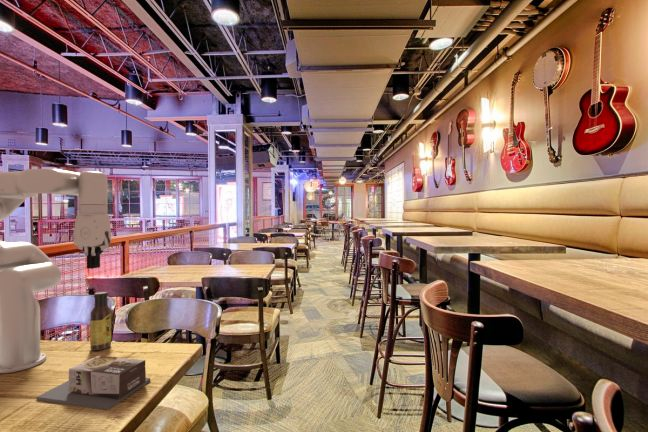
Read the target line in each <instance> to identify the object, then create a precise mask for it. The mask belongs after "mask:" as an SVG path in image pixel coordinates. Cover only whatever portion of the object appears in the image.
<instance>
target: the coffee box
mask: <svg viewBox="0 0 648 432" xmlns="http://www.w3.org/2000/svg"><path fill="white" fill-rule="evenodd" d="M146 375H147V374H146V360H145V359H138V358H127V357H118V356H117V357H116V356H103V355H97V356H95V357H92V358H90V359H88V360H86V361H84V362H82V363H79V364H77V365H75V366H72V367H71V368H69V369H68V381H69V382H68V391H69V392H74V393H81V394H88V395H95V396H102V397H109V398H116V399H121V398H122V397H124V396H125V395H127V394H128V393H130V392H131V391H133V390H134V389H136V388H137V387H139V386H140V385H142V384H143V383H145V382H146V378H147V377H146Z"/></svg>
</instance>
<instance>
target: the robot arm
mask: <svg viewBox="0 0 648 432" xmlns="http://www.w3.org/2000/svg"><path fill="white" fill-rule="evenodd" d="M37 194H38V195H39V194H49V195H50V194H52V195H63V196H64V195H65V196H78V208H77V210H78V214H77V215H76V216H75V220H74V221H75V222H74V227H73V229H74V230H73V245H74V246H77V248H78V250H81V251H83V252H84V256H86V269H91V270H93V269H98V268H101V255H103V252H104V251H106V250H109V249H110V247H109V245H110V244H111V241H112V230H111V229H112V228H111V220H110V217H109V214H108V213H109V212H108V211H109V210H108V206H109V205H108V175H107V174H106V173H104V172H101V171H92V170H91V171H89V170H86V171H84V170H83V171H82V172H75V171H71V170H63V169H57V168H27V169H23V170H21V171H20V170H18V171H0V222H2V221H4V220H6V219H7V218H8V217H10V215H12V214H13V213H14V212H15V211H16V210H17V209H18V208H20V206H21V205H22V204H23V203H24V202H25V201H26V200H27V198H28V199H29V198H33V197H35V196H37ZM61 279H62V272H61V270H60V268H59V266H58V265H57V264H56V263H55V262H54V261H53V260H52V259H51V258H50V257H49V256H48V255H47V254H46V253H45V252H44V251H42V250H41V248H39V247H38V245H35V244H33V243H31V242H27V241H12V242H8V241H4V240H2V239H1V238H0V374H8V373H9V374H10V373H15V372H19V371H20V372H21V371H24V370H28V369H30V368H33V367H36V366H38V365H40V364H42V363H44V362H45V361H47V354H46V353H44V352H41V307H40V303H39V300H38V299H37V297H36V296H35V295H34V294H35V293H38V292H42V291H45V290H49V289H52V288H54V287H57V285H59V283H60V282H61Z"/></svg>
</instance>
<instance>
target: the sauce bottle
mask: <svg viewBox="0 0 648 432" xmlns="http://www.w3.org/2000/svg"><path fill="white" fill-rule="evenodd" d="M108 295H109V293H108V291H98V292H95V293H94V294H93V298H94V307H93V308H92V309H91V312H90V322H89V326H90V330H89V333H90V334H89V335H90V336H89V339H90V341H89V344H90V350H91V351H101V350H105V349H108V348H109V347H111V346H112V311H111V308H110V307H109V305H108Z"/></svg>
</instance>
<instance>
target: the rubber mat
mask: <svg viewBox="0 0 648 432" xmlns="http://www.w3.org/2000/svg"><path fill="white" fill-rule="evenodd" d="M68 382H69V380H67V381H65V382H63V383H61V384H60V385H57V386H55V387H52V388H51V389H49V390H48V391H47V390H46V391H45V392H44V393H43V392H42V393H41V394H40V395H38V396H36V401H42V402H48V403H49V402H50V403H56V404H61V405H62V404H63V405H71V406H77V407H78V406H79V407H84V408H91V409H92V408H93V409H100V410H106V411H108V410H111V409H112V408H113V407H115V406H116V405H117V404H119V403H120V402H122V401H123V400H125V399H126V398H127V397H129V396H131V395H132V394H133V393H135V392H136V391H139V390H140V389H141V388H143V386H145V385H147V384H148V383H150V382H151V378H150V377H146V382H145V383H143V384H142V385H140V386H139V387H137V388H136V389H134V390H133V391H131V392H130V393H128V394H127V395H125V396H124V397H122V398H121V399H116V398H109V397H102V396H95V395H88V394H81V393H74V392H69V391H68Z"/></svg>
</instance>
